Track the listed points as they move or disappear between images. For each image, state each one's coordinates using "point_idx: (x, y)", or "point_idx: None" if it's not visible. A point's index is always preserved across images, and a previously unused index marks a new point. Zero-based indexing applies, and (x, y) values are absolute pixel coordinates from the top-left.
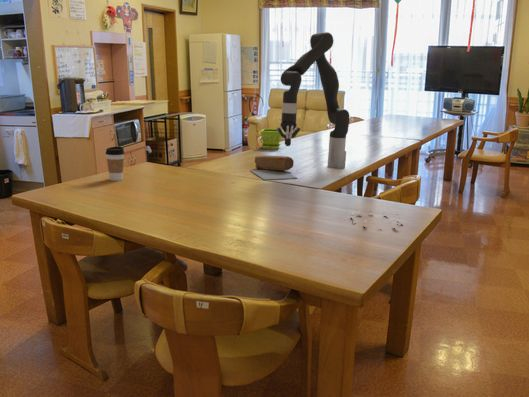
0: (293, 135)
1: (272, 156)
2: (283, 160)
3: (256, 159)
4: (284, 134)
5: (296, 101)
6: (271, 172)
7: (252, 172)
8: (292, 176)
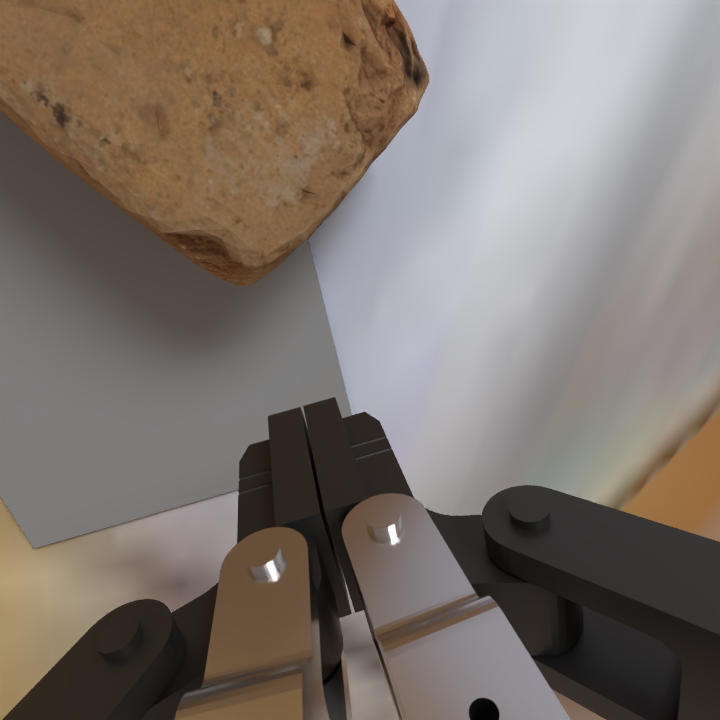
0: (551, 669)
1: (27, 50)
2: (242, 277)
3: None
4: (208, 675)
5: None
6: (98, 229)
7: None
8: None
